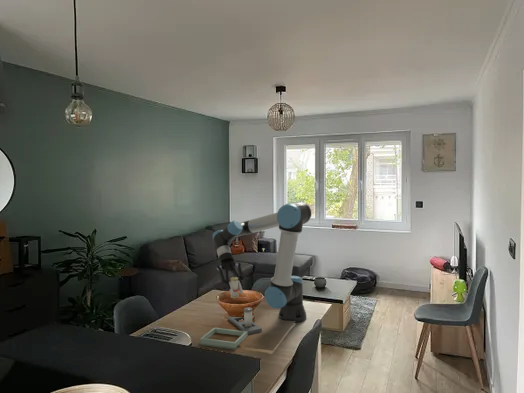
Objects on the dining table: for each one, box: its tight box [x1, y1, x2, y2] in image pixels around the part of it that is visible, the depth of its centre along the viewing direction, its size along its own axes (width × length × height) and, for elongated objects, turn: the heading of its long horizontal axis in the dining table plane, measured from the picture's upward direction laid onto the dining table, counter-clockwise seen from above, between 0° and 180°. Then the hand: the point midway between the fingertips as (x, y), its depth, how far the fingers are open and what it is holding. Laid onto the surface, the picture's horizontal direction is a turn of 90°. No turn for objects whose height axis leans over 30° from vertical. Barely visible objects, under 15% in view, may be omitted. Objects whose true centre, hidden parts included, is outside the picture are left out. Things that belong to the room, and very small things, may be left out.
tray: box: [199, 327, 249, 351], centre depth 184 cm, size 18×14×3 cm
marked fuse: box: [229, 276, 240, 299], centre depth 203 cm, size 4×4×10 cm
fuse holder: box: [227, 315, 263, 335], centre depth 201 cm, size 24×8×2 cm, turn 27°
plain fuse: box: [243, 306, 253, 328], centre depth 196 cm, size 4×4×10 cm
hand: (237, 293), depth 199 cm, fingers closed on marked fuse, 4 cm apart
